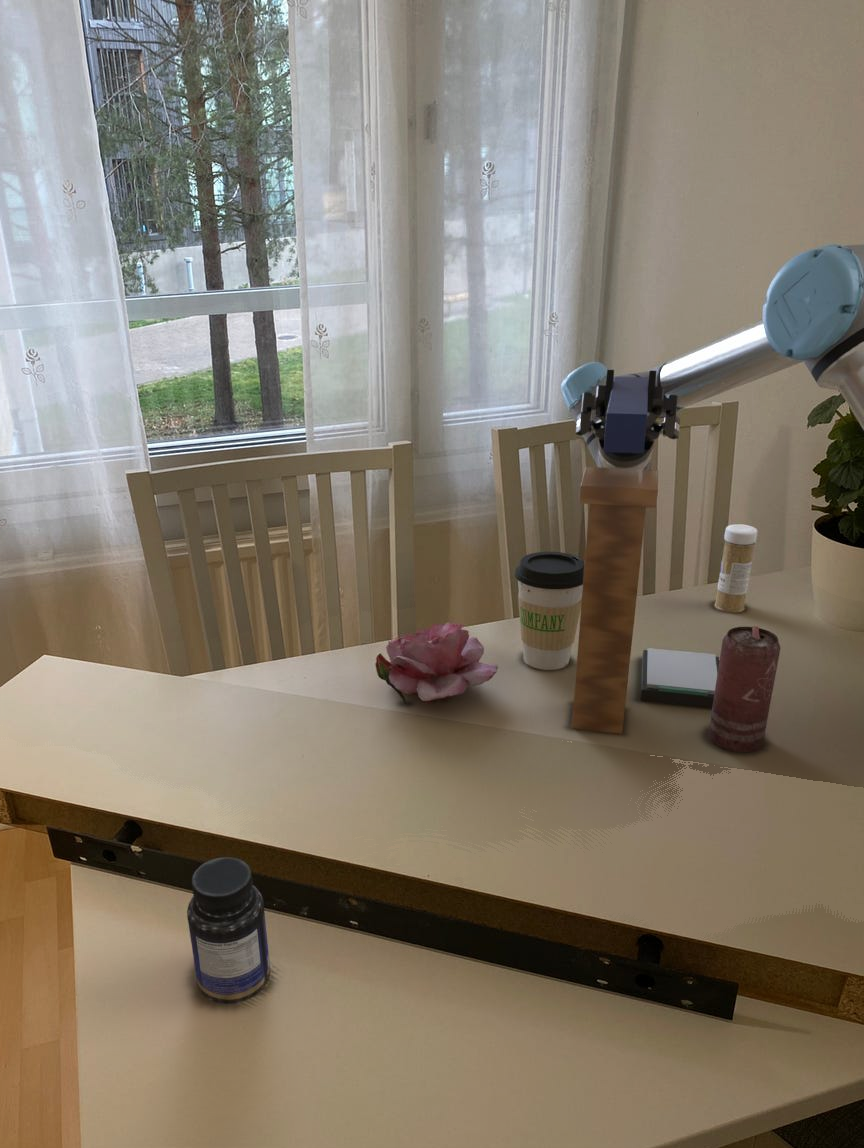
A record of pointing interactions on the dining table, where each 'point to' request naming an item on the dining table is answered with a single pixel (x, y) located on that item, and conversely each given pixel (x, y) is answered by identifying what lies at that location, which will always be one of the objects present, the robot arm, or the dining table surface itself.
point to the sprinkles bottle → (735, 567)
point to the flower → (434, 663)
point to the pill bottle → (228, 931)
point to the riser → (609, 591)
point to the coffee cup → (549, 606)
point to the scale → (679, 677)
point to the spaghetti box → (627, 415)
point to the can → (744, 688)
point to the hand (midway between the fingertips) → (630, 381)
